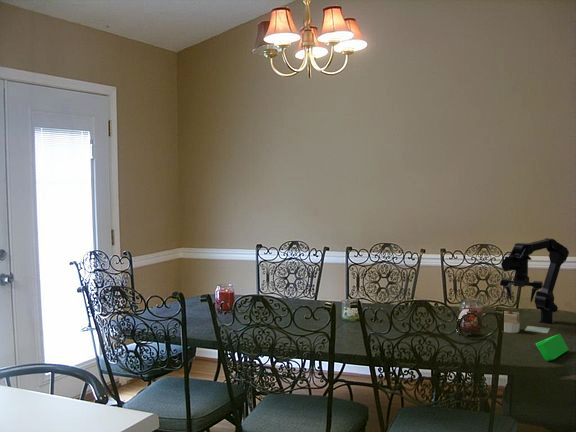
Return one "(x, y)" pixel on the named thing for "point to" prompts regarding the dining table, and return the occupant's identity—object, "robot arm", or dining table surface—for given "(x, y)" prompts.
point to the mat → (537, 329)
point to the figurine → (463, 313)
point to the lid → (511, 317)
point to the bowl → (511, 327)
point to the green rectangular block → (552, 347)
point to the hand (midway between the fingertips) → (521, 301)
